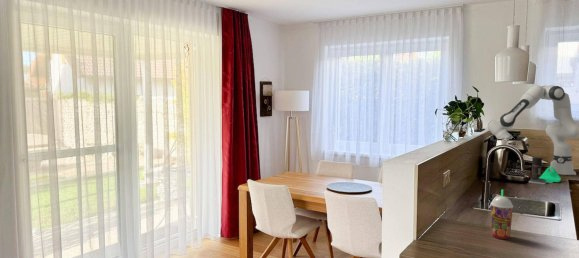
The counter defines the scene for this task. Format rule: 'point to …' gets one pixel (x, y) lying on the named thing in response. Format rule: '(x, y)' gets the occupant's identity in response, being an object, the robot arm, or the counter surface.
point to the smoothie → (501, 216)
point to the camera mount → (550, 175)
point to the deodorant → (536, 167)
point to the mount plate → (538, 181)
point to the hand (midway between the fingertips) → (518, 151)
